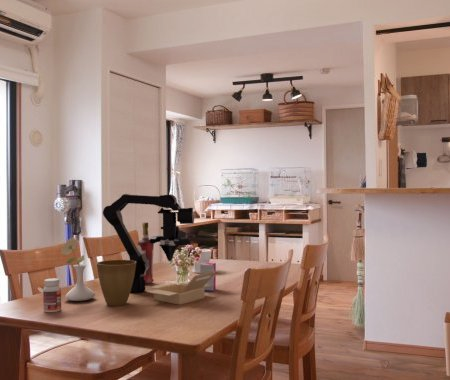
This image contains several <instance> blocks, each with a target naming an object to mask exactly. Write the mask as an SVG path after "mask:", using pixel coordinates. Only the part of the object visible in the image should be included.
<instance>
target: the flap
mask: <svg viewBox="0 0 450 380" xmlns="http://www.w3.org/2000/svg"><path fill="white" fill-rule="evenodd" d="M215 273H217V271H214V272H210V273H205V274H201V275H200V274H196V275H194V276H193V277H192V279H191V280H190V281H188V282H189V283H188V284H187V285H186V287H185V288H184V289H183V290H182V292H186V291H190V290H194V289H198V288H202V287H204V286H205V284H206V283H207V282H208V281H209V280H210V279H211V278H212V277H213V276H214V274H215Z"/></svg>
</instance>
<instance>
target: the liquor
mask: <svg viewBox="0 0 450 380" xmlns="http://www.w3.org/2000/svg"><path fill="white" fill-rule="evenodd" d="M141 237H142V239H141V240H139V241H138V242H137V250H138V251H139V252H140V253H141V254H144V253H145V255H146V258H147V259H148V260H149V262H148V263H149V268H148V270H147V271H146V272H145V273H144V275H143V276H144V279H145V285H151V284H152V283H153V282H154V275H153V274H154V270H153V269H154V268H153V267H154V244H155V243H150V238H149V237H150V235H149V222H145V221H144V222H142V236H141Z"/></svg>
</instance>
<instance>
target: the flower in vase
mask: <svg viewBox="0 0 450 380" xmlns="http://www.w3.org/2000/svg"><path fill="white" fill-rule="evenodd" d="M77 245H78V240H77V239H76V238H75V237H72V238H68V239H67V240H66V242H65V243H63V245H62V247H61V249H60V251H61V255H64V256H68V255H70V254H71V253H73V256H74V257H71V258H69V259H68V260H67V261H66V264H70V265H71V264H72V263H74V262H75V261H76V263H77V264H73V265H72V267H74V269H75V271H76V284H75V286H73V287H72V288H71V289H70V290H69V291H68V292H67V293H66V294H65V299H66V300H68V301H73V302H82V301H89V300H92V299H93V298H95V296H96V294H95V292H94V291H93V290H92V289H91V288H89V287H88V286H87V285H86V284H85V282H84V271H85V269H86V267H87V264H84V263H83V264H81V263H82V262H83V261H84V260H85V256H84V255H82V256H80V257H78V258H76V254H75V252H74V250H75V248H77ZM79 263H80V264H79Z"/></svg>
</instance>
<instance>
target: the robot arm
mask: <svg viewBox="0 0 450 380" xmlns="http://www.w3.org/2000/svg"><path fill="white" fill-rule="evenodd" d="M129 204H135V205H137V204H138V205H152V206H157V207H160V210H159V211H157V214H158V215H159V214H162V226H160V230H162V235H154V236H153V235H152V236H150V238H149V240H150V243H154V244H156V243H160V244H159V246H160V248H161V250H162V251H163V252H164V254H165V256H166V259H167V261H168V262H172V260H173V257H174V255H175V252H176V249H177V248H178V247H180V246H188V245H191V239H190V238H189V237H187V232H185V231H183V230H180V227H179V226H178V225H177V222H178V223H179V224H180V225H194V224H195V214H194V208H193V207H187V208H185V207H184V208H183V207H181V205H180V204H179V203H178V200H177V197H176V196H175V195H174V194H162V195H161V194H159V195H144V194H142V195H141V194H140V195H139V194H128V193H124V194H121V196H120V197H119V198H118V199H116V200H115V201H113V202H112V203H111V204H110V205H106V206H105V207H104V208H103V211H102V216H103V218H105V220H106V222H108V223H109V224H110V225H111V226H112V228H114V230H115V232H116V234H117V236H118V238H119V239H120V242H121V243H122V245H123V248H124V249H125V252H126V253H127V255H128V256H129V260H132V261H136V269H135V275H134V280H133V284H132V288H131V291H130V294H137V293H145V291H146V284H145V279H144V276H143V275H144V273H145V272H146V271H147V270H148V268H149V263H148V262H149V260H148V259H147V258H146V255H145V253H144V254H141V253H140V252H139V251H138V247H137V246H136V244H135V242H134V240H133V238H132V237H131V235H130V233H129V230H128V229H127V227H126V226H125V224H124V219H123V215H122V214H123V213H122V211H123V210H124V209H125V208H126V206H128V205H129Z"/></svg>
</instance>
